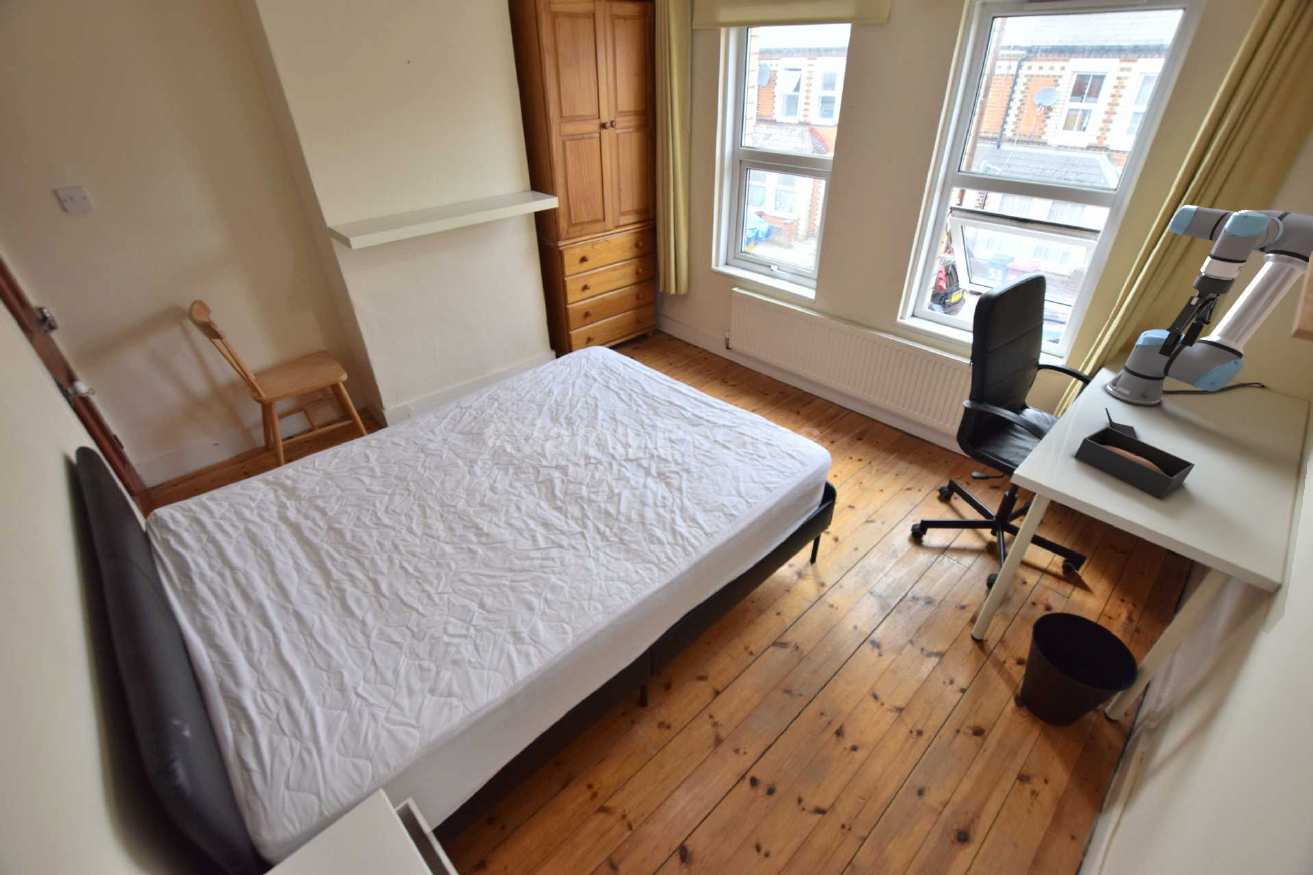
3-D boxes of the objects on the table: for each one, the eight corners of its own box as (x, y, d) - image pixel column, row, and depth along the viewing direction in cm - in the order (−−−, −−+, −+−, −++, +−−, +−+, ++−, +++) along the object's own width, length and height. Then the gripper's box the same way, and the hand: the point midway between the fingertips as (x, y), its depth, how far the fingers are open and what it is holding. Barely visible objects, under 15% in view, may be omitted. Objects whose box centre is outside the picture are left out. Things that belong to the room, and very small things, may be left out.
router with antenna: (1148, 442, 172) (1135, 414, 170) (1120, 452, 175) (1107, 424, 173) (1132, 427, 182) (1120, 401, 180) (1106, 437, 185) (1094, 411, 183)
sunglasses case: (1169, 474, 160) (1176, 461, 155) (1155, 492, 158) (1161, 480, 154) (1097, 444, 171) (1101, 432, 166) (1083, 461, 170) (1087, 449, 165)
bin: (1097, 444, 173) (1107, 426, 170) (1182, 483, 158) (1195, 464, 154) (1074, 457, 168) (1083, 438, 164) (1160, 499, 152) (1173, 479, 148)
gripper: (1214, 287, 142) (1170, 364, 154) (1254, 272, 153) (1210, 345, 165) (1179, 278, 148) (1139, 354, 159) (1220, 265, 159) (1179, 336, 170)
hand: (1175, 350), depth 162 cm, fingers open, 13 cm apart
